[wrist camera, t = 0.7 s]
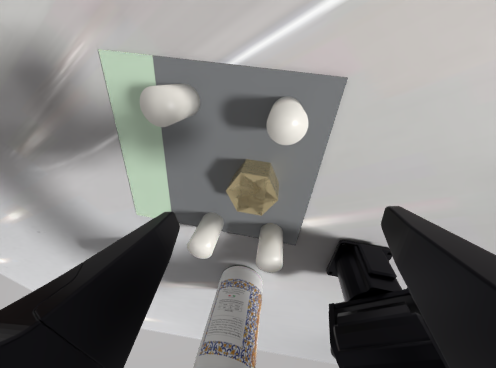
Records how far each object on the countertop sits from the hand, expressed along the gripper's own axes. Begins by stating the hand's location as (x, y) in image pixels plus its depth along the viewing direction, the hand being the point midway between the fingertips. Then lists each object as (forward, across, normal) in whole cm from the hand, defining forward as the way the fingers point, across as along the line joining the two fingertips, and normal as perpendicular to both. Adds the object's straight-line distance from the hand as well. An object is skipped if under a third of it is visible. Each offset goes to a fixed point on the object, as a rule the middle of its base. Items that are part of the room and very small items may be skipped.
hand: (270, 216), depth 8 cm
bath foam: (+13, +7, +24) cm, 28 cm away
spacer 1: (+13, +8, -4) cm, 16 cm away
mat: (+14, +7, +3) cm, 16 cm away
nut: (+13, +2, +5) cm, 14 cm away
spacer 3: (+12, +1, +13) cm, 18 cm away
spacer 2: (+13, +9, +12) cm, 19 cm away
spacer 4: (+13, -1, -1) cm, 13 cm away
